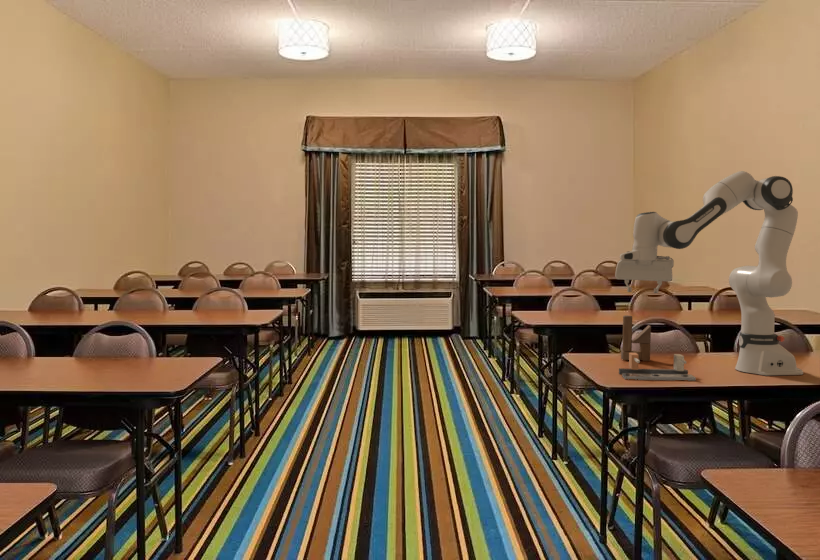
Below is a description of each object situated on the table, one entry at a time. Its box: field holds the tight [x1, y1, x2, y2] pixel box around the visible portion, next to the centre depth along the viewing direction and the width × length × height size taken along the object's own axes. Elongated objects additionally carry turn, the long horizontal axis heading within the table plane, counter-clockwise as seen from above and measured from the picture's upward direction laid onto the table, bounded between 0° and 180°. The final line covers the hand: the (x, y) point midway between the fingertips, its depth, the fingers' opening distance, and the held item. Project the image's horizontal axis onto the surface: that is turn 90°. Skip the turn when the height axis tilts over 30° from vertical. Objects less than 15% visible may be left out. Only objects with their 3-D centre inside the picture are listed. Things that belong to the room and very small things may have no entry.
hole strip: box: [621, 373, 697, 382], centre depth 249 cm, size 24×5×1 cm, turn 85°
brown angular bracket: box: [620, 315, 652, 362], centre depth 283 cm, size 4×11×18 cm, turn 84°
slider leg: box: [628, 353, 641, 370], centre depth 254 cm, size 2×10×5 cm, turn 175°
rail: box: [618, 353, 689, 375], centre depth 253 cm, size 24×10×7 cm, turn 85°
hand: (642, 292), depth 262 cm, fingers open, 8 cm apart
